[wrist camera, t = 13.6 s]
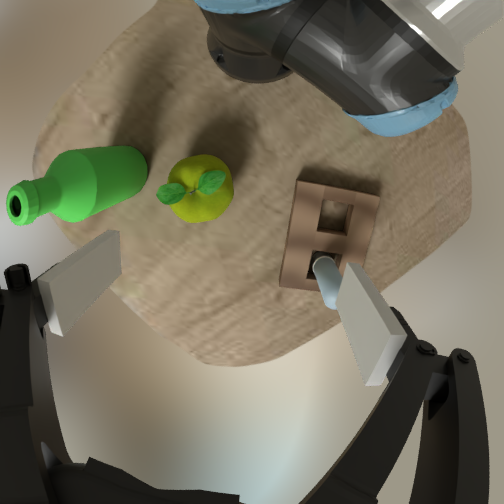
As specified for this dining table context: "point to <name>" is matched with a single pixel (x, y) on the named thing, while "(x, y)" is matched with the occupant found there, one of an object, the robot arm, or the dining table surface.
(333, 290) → the peg
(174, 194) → the fruit
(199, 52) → the dining table surface
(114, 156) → the bottle
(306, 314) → the dining table surface
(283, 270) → the board
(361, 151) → the dining table surface
